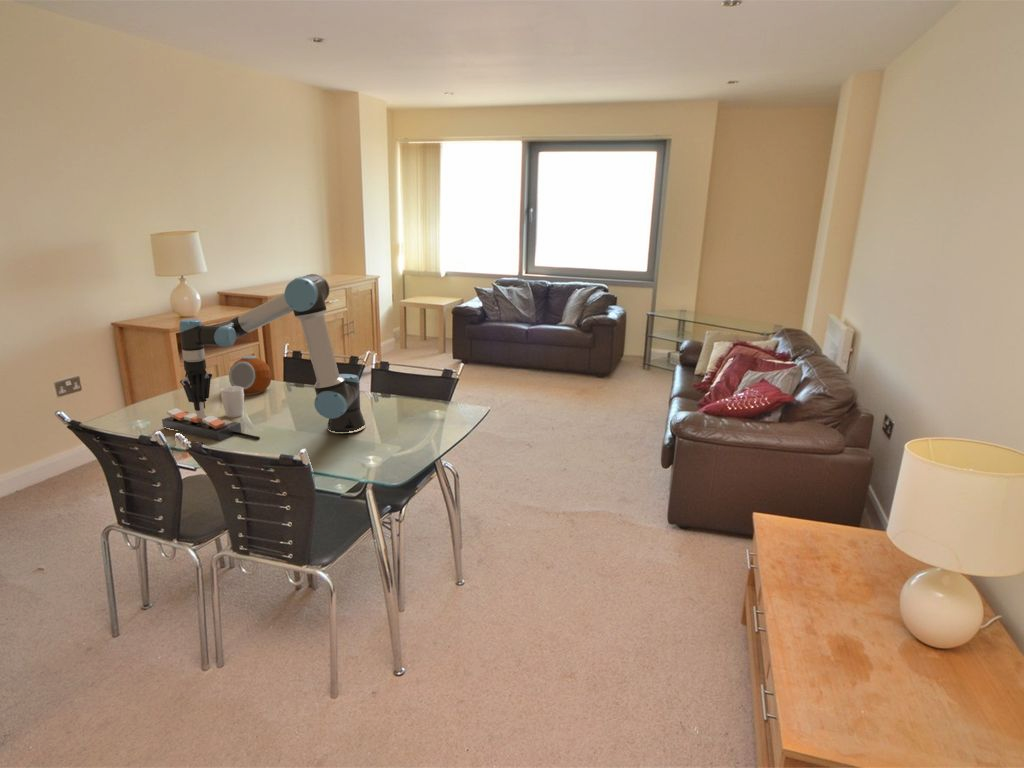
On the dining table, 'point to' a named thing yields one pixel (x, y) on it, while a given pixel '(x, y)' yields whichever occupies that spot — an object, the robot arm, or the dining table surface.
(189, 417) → the rocker
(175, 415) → the rocker
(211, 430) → the power strip
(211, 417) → the rocker
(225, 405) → the cup
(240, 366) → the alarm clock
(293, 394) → the dining table surface
